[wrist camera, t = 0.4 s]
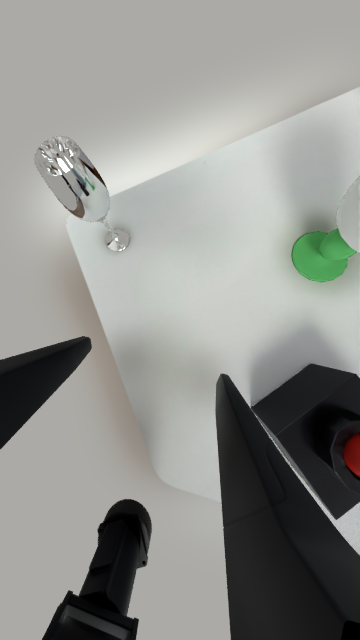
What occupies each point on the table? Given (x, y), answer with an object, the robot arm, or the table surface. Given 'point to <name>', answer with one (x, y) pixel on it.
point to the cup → (331, 242)
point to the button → (353, 454)
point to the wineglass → (77, 185)
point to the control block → (317, 431)
